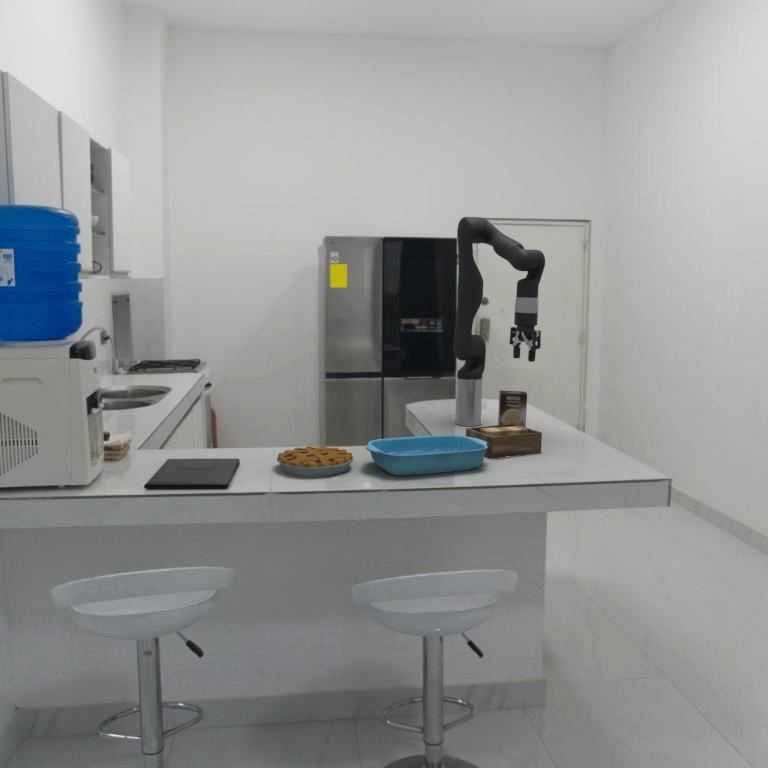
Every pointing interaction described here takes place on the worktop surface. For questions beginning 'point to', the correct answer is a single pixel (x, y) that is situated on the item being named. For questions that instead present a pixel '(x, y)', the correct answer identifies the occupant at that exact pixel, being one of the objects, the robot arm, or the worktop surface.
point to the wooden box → (508, 442)
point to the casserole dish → (427, 454)
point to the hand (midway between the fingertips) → (523, 359)
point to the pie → (315, 461)
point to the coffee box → (512, 408)
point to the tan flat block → (503, 431)
